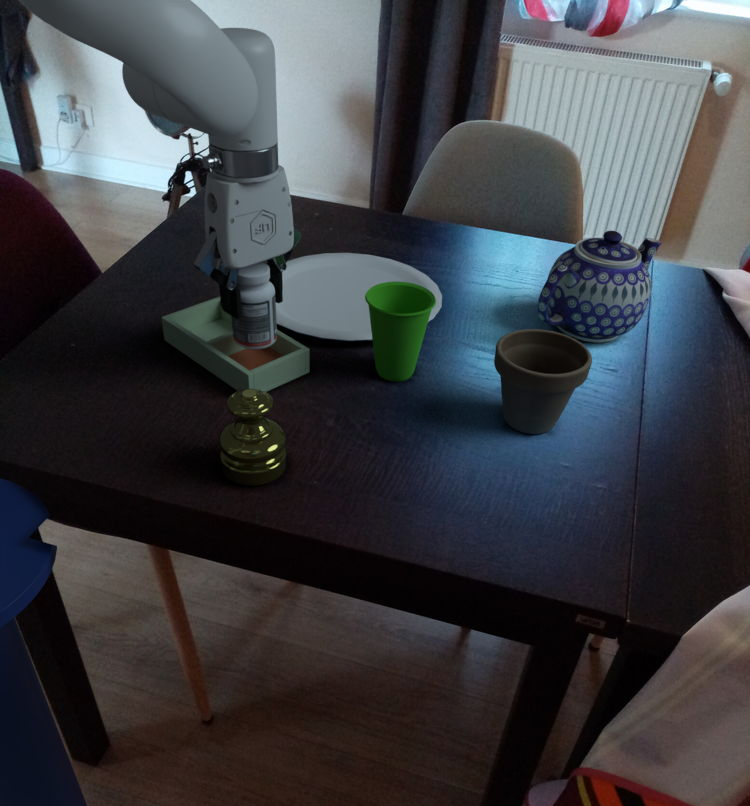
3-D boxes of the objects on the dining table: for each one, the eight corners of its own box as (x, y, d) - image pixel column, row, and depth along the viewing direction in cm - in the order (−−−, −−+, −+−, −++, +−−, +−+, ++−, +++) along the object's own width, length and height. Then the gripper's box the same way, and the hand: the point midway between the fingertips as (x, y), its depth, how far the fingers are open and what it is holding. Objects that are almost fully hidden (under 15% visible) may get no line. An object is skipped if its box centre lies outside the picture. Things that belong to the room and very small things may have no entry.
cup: (348, 367, 107) (350, 293, 99) (397, 348, 111) (403, 275, 104) (391, 397, 102) (397, 321, 94) (441, 375, 106) (450, 301, 99)
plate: (387, 370, 106) (388, 359, 105) (213, 313, 116) (212, 303, 115) (470, 289, 126) (472, 280, 125) (316, 247, 136) (316, 237, 135)
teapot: (565, 371, 109) (590, 271, 99) (494, 325, 118) (510, 229, 108) (680, 327, 120) (712, 233, 111) (607, 288, 129) (630, 198, 119)
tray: (249, 399, 100) (248, 375, 97) (164, 340, 110) (160, 316, 107) (309, 372, 105) (309, 348, 103) (223, 318, 115) (221, 295, 113)
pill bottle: (248, 325, 105) (244, 254, 98) (285, 336, 103) (283, 264, 97) (224, 344, 101) (217, 271, 94) (262, 355, 99) (258, 282, 93)
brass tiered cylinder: (296, 455, 91) (295, 383, 85) (270, 494, 86) (267, 419, 79) (238, 441, 93) (233, 368, 86) (209, 478, 87) (201, 404, 81)
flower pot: (510, 384, 105) (523, 317, 99) (588, 415, 101) (607, 346, 94) (467, 423, 98) (478, 353, 91) (549, 458, 93) (567, 387, 87)
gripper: (199, 184, 80) (214, 340, 92) (324, 152, 90) (323, 297, 102) (158, 164, 84) (178, 316, 96) (282, 136, 94) (286, 277, 106)
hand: (252, 305), depth 99 cm, fingers closed on pill bottle, 5 cm apart
